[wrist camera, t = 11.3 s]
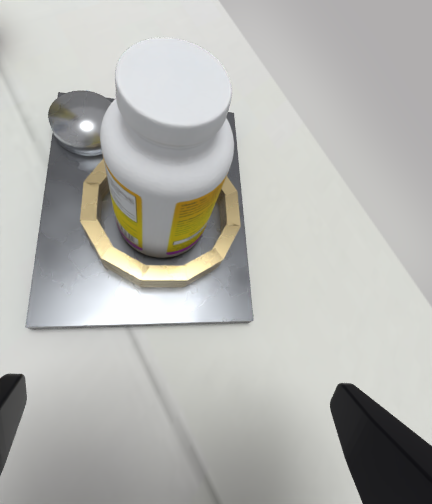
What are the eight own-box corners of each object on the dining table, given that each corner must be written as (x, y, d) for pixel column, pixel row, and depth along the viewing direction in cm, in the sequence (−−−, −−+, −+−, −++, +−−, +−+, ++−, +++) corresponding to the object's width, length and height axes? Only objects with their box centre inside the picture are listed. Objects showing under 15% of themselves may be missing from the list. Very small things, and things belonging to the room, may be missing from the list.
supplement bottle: (211, 194, 26) (267, 49, 14) (195, 269, 24) (246, 169, 12) (129, 171, 25) (117, -2, 14) (103, 247, 23) (61, 117, 11)
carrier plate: (249, 322, 24) (262, 316, 21) (30, 329, 21) (13, 322, 18) (231, 120, 31) (239, 95, 28) (61, 101, 27) (52, 71, 25)
